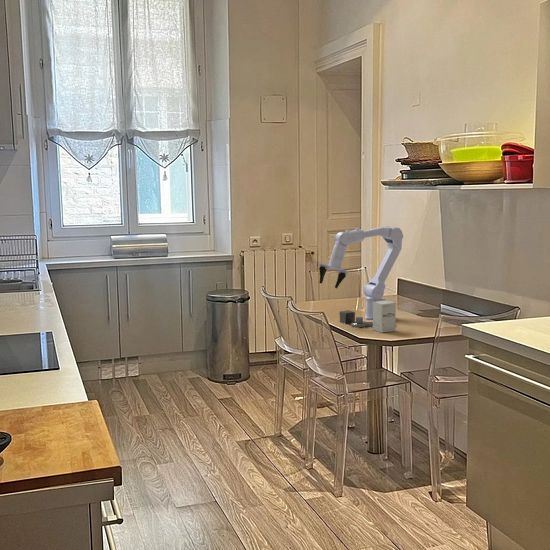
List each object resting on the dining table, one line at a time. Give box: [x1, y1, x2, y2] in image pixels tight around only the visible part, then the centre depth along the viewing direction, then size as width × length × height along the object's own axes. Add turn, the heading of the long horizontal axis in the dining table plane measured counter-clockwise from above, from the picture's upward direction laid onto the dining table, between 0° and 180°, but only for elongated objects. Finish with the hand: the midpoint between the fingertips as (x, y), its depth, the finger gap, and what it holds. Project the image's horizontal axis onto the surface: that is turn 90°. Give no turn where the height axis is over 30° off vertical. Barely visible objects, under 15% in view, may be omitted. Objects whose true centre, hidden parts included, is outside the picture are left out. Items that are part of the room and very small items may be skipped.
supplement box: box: [372, 299, 397, 333], centre depth 304 cm, size 7×7×13 cm
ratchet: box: [350, 316, 373, 328], centre depth 315 cm, size 19×8×4 cm, turn 87°
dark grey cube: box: [339, 310, 356, 325], centre depth 323 cm, size 5×5×5 cm
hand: (328, 285), depth 323 cm, fingers open, 7 cm apart
